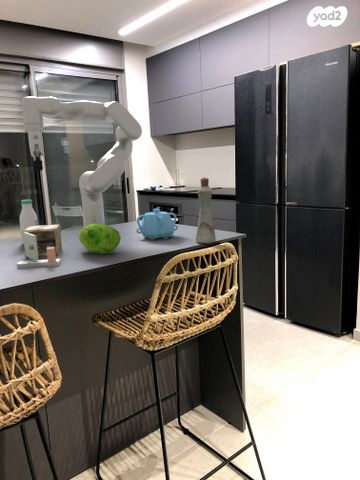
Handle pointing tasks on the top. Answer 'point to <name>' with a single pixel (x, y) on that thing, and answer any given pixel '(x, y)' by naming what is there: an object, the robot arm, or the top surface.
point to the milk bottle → (27, 216)
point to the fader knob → (51, 254)
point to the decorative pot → (157, 224)
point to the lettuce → (99, 238)
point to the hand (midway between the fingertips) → (38, 170)
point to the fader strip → (37, 263)
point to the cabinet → (46, 237)
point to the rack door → (30, 245)
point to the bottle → (205, 214)
